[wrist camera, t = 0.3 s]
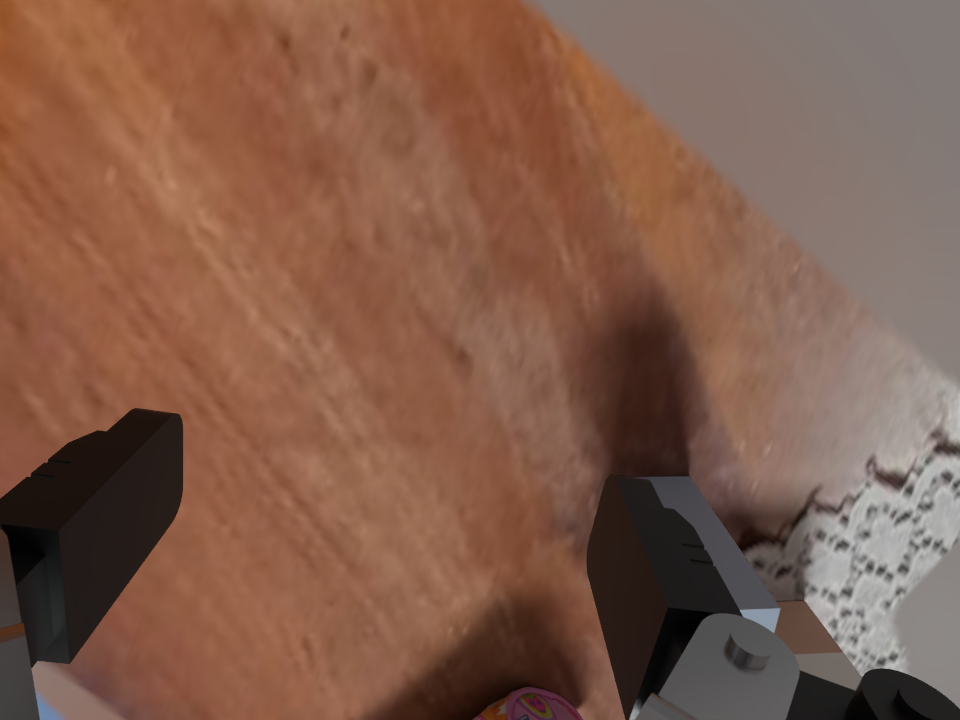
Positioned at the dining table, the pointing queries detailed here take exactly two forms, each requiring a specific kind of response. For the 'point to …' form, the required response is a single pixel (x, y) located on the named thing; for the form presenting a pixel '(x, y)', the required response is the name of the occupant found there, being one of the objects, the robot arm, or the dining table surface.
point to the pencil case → (530, 707)
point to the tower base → (814, 645)
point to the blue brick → (719, 548)
